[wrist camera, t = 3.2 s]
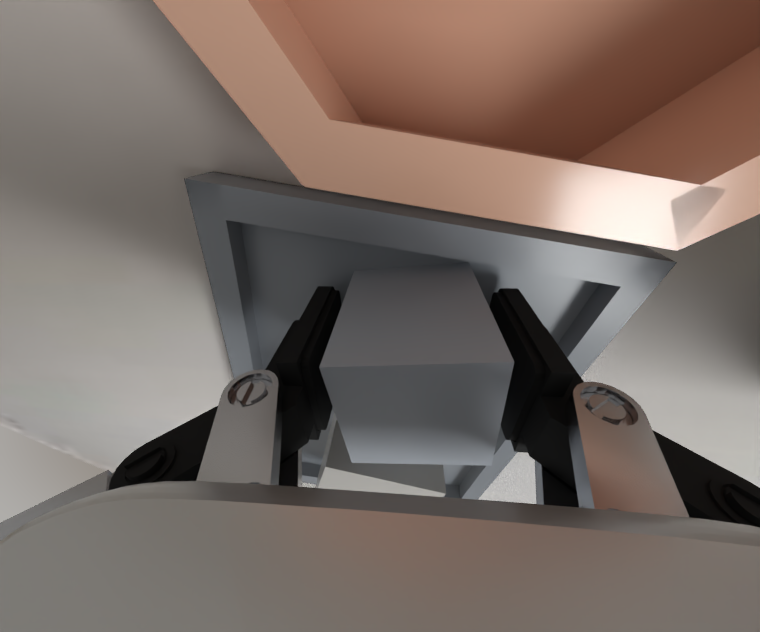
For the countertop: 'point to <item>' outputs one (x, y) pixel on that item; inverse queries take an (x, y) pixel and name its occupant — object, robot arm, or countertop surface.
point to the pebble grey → (375, 472)
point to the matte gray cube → (417, 367)
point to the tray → (393, 250)
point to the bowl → (505, 105)
